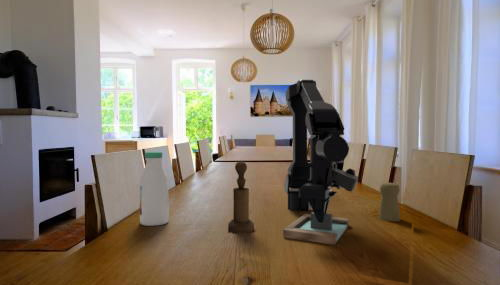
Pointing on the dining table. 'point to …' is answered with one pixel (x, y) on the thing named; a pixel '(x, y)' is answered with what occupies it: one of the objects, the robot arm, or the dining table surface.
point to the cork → (389, 202)
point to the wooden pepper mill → (241, 204)
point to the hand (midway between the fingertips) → (321, 221)
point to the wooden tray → (312, 231)
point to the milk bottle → (153, 191)
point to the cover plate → (334, 228)
